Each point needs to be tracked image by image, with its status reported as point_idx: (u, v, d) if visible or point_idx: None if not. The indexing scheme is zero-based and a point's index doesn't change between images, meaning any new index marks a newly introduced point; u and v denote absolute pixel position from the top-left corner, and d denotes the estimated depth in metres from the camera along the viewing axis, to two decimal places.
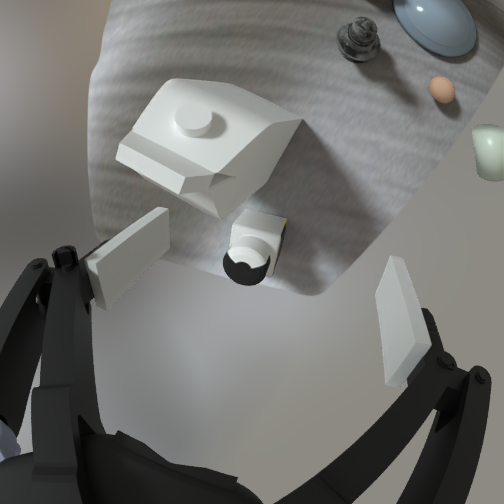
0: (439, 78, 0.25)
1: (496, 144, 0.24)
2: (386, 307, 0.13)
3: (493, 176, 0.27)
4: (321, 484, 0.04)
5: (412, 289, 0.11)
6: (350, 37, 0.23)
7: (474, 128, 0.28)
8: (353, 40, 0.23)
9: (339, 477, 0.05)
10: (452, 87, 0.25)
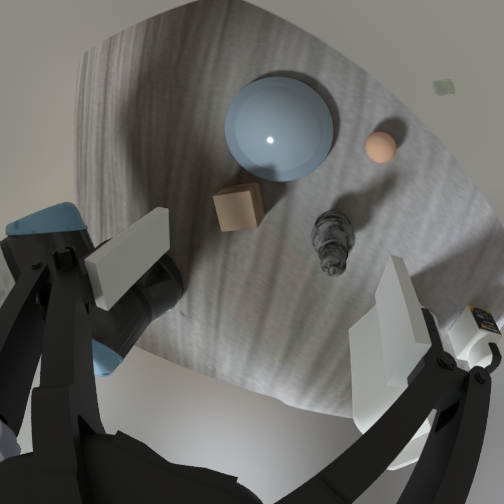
0: (370, 153, 0.29)
1: None
2: (386, 307, 0.13)
3: None
4: (321, 484, 0.04)
5: (412, 289, 0.11)
6: None
7: None
8: None
9: (339, 477, 0.05)
10: (380, 140, 0.28)
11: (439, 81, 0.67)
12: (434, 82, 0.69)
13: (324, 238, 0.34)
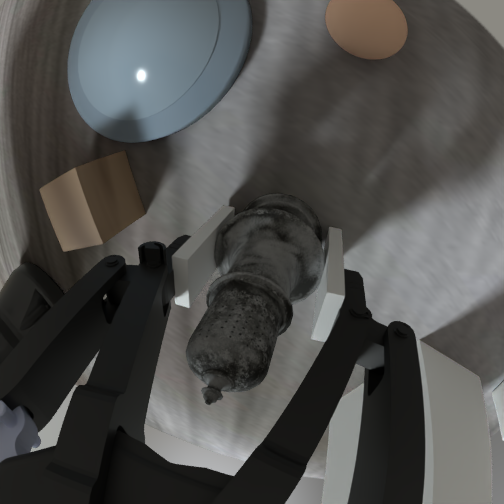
0: (338, 29, 0.09)
1: None
2: None
3: None
4: (266, 452, 0.05)
5: (341, 252, 0.13)
6: None
7: None
8: None
9: (283, 443, 0.05)
10: None
11: None
12: None
13: (232, 263, 0.13)
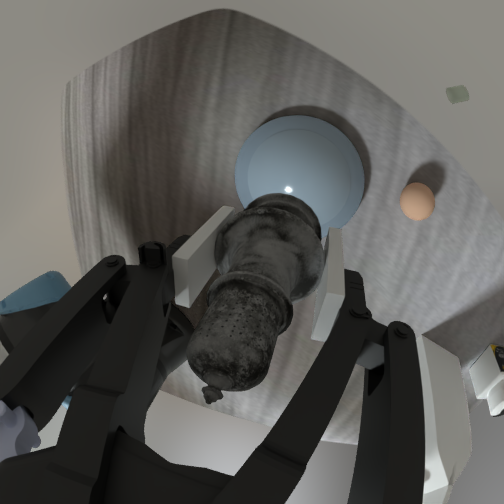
0: (406, 211, 0.25)
1: None
2: None
3: None
4: (266, 452, 0.05)
5: (341, 252, 0.13)
6: None
7: (468, 97, 0.61)
8: None
9: (283, 443, 0.05)
10: (419, 196, 0.23)
11: (453, 88, 0.62)
12: (448, 89, 0.64)
13: (233, 262, 0.13)
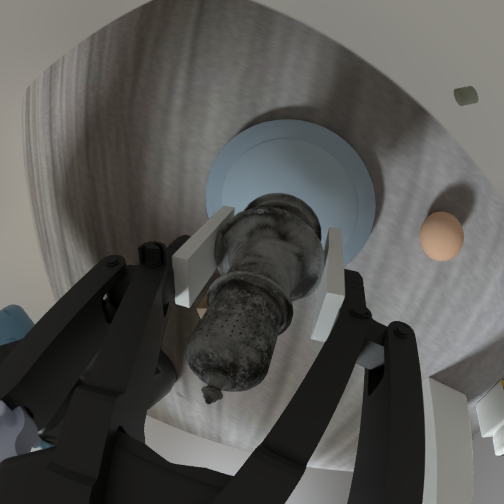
0: (428, 250, 0.18)
1: None
2: None
3: None
4: (266, 452, 0.05)
5: (341, 253, 0.13)
6: None
7: (477, 99, 0.55)
8: None
9: (283, 443, 0.05)
10: (446, 233, 0.17)
11: (461, 89, 0.56)
12: (456, 90, 0.58)
13: (233, 262, 0.13)
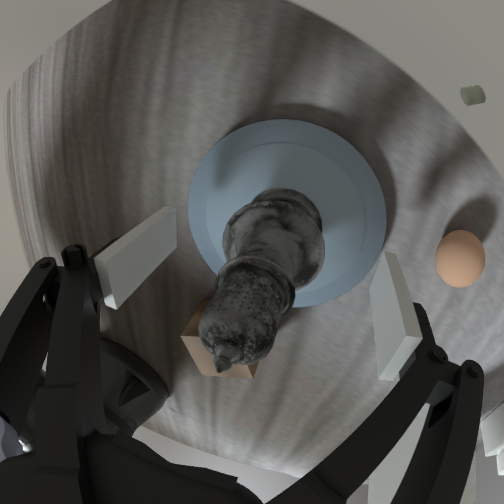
0: (445, 275, 0.15)
1: None
2: (379, 303, 0.13)
3: None
4: (316, 480, 0.04)
5: (404, 284, 0.11)
6: None
7: (484, 98, 0.51)
8: None
9: (333, 473, 0.05)
10: (467, 257, 0.14)
11: (468, 88, 0.52)
12: (462, 89, 0.54)
13: (240, 250, 0.14)
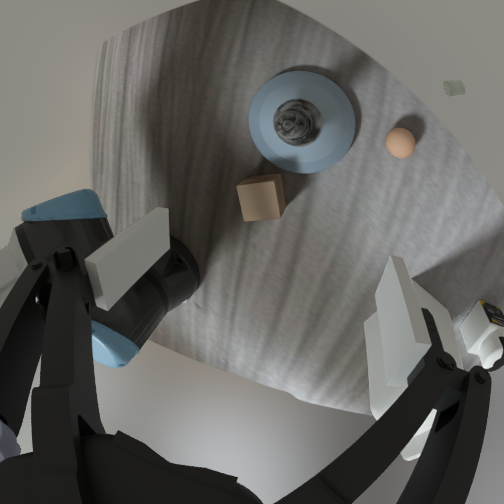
0: (391, 148, 0.29)
1: None
2: (386, 307, 0.13)
3: None
4: (321, 484, 0.04)
5: (412, 289, 0.11)
6: (299, 137, 0.27)
7: (464, 90, 0.65)
8: (303, 135, 0.26)
9: (339, 477, 0.05)
10: (400, 135, 0.28)
11: (450, 81, 0.66)
12: (445, 82, 0.68)
13: None
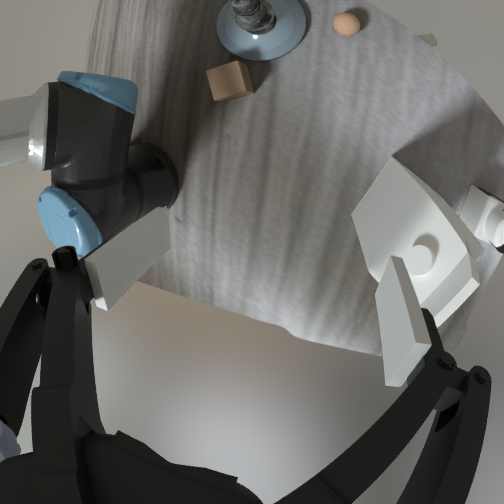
0: (337, 26, 0.28)
1: None
2: (386, 307, 0.13)
3: None
4: (321, 484, 0.04)
5: (412, 289, 0.11)
6: (252, 13, 0.25)
7: (436, 42, 0.63)
8: (255, 11, 0.25)
9: (338, 477, 0.05)
10: (343, 15, 0.26)
11: (421, 35, 0.64)
12: None
13: None
